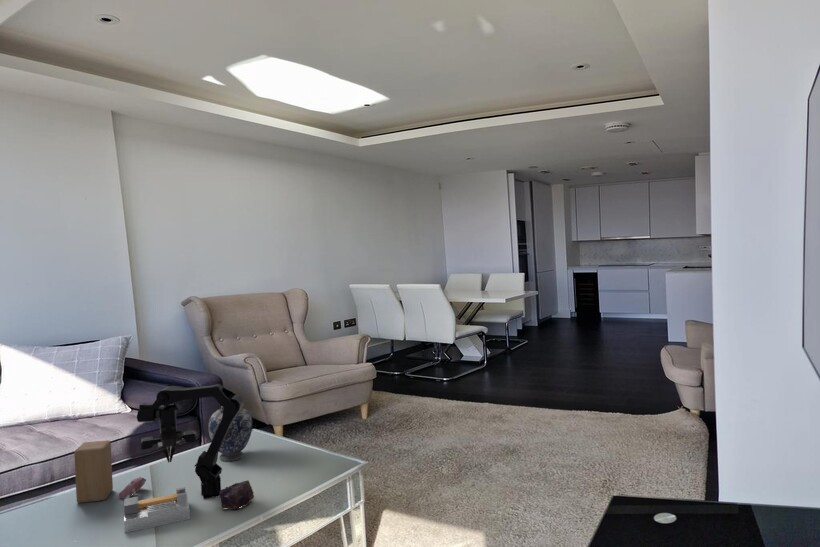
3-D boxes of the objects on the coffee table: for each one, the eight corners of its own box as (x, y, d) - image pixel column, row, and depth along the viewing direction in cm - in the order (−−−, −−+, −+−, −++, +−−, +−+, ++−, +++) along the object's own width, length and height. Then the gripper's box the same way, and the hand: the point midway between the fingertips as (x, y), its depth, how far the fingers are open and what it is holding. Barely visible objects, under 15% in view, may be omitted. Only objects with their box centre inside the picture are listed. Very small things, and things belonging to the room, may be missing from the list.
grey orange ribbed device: (187, 502, 204) (186, 485, 204) (189, 519, 192) (189, 500, 191) (125, 514, 196) (125, 496, 196) (124, 532, 183) (123, 513, 183)
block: (85, 492, 215) (83, 441, 214) (113, 489, 217) (111, 439, 216) (75, 504, 205) (73, 450, 204) (105, 501, 207) (102, 448, 206)
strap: (183, 495, 200) (183, 491, 200) (183, 499, 198) (183, 495, 198) (125, 507, 192) (124, 503, 192) (124, 510, 190) (124, 506, 190)
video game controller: (126, 503, 208) (133, 487, 207) (116, 497, 209) (123, 481, 208) (143, 492, 218) (150, 476, 217) (134, 486, 219) (140, 471, 218)
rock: (221, 507, 202) (225, 519, 193) (216, 485, 202) (220, 495, 193) (253, 496, 208) (258, 506, 198) (248, 474, 207) (254, 483, 198)
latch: (137, 505, 194) (137, 496, 194) (137, 512, 189) (137, 503, 188) (125, 507, 192) (124, 499, 192) (124, 515, 187) (124, 506, 187)
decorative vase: (215, 449, 258) (214, 389, 257) (256, 447, 260) (255, 388, 259) (203, 467, 237) (202, 402, 236) (248, 465, 239) (247, 401, 238)
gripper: (140, 431, 198) (142, 474, 198) (196, 423, 206) (197, 464, 206) (140, 422, 208) (142, 463, 209) (193, 415, 216) (195, 455, 216)
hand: (169, 462), depth 210 cm, fingers closed
